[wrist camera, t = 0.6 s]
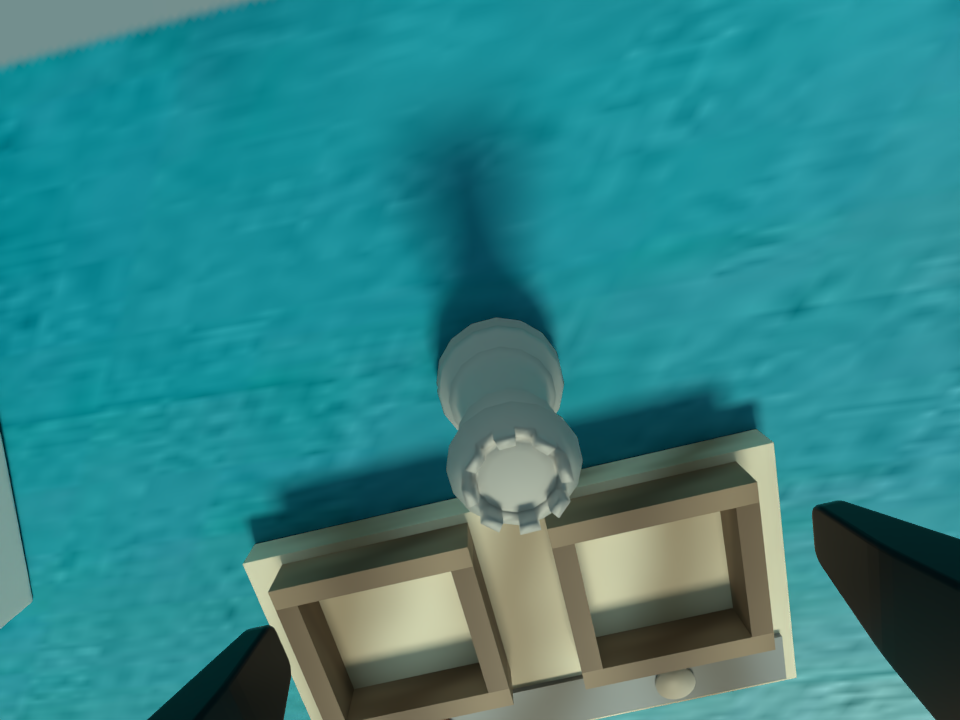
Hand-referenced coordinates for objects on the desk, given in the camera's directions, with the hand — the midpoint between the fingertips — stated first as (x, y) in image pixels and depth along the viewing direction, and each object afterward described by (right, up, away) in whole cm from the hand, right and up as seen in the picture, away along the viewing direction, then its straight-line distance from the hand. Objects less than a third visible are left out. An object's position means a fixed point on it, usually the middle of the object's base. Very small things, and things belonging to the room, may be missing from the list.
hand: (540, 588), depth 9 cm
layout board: (+1, -6, +14) cm, 15 cm away
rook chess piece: (0, +3, +11) cm, 12 cm away
